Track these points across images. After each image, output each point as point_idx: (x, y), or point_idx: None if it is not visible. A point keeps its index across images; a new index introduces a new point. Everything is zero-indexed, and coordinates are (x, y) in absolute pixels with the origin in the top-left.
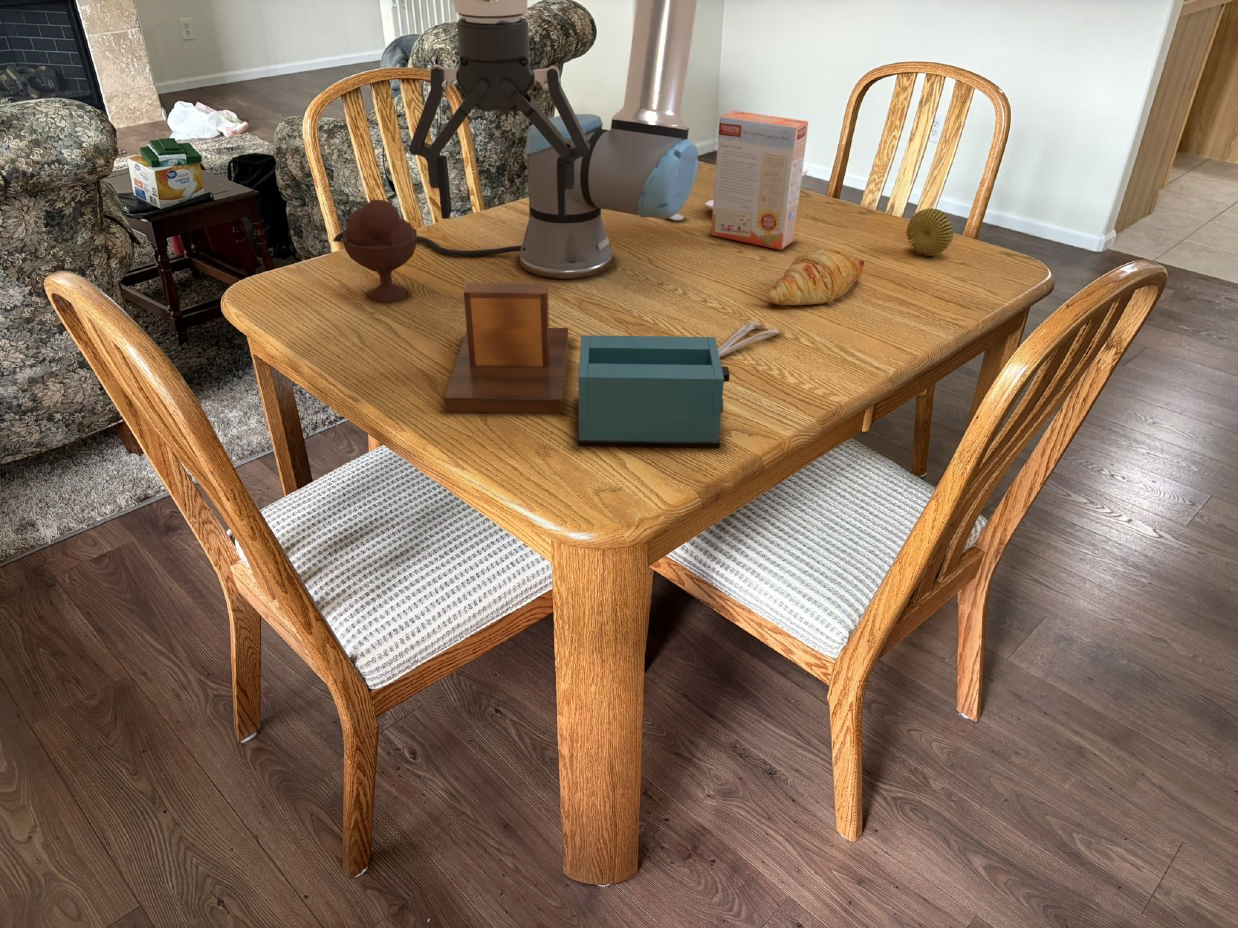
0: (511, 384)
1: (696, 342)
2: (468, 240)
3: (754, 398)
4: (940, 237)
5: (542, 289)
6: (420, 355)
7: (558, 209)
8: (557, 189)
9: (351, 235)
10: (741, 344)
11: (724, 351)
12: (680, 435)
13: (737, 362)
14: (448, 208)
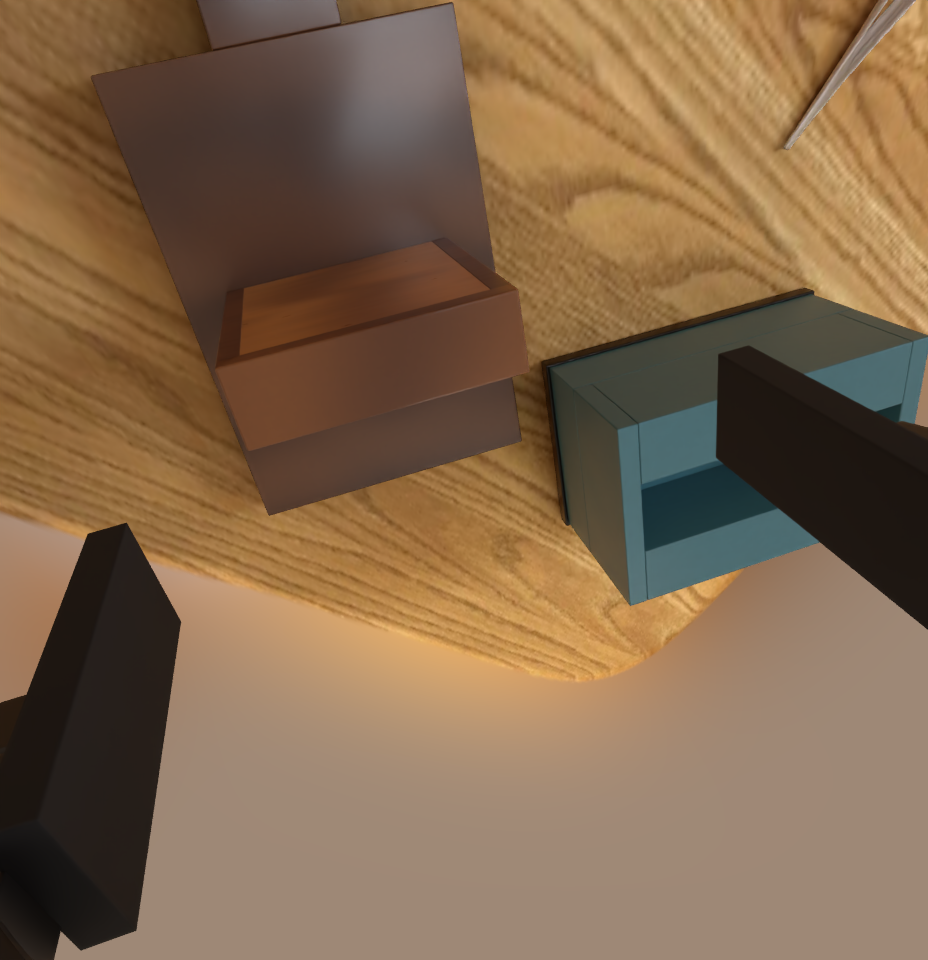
0: (397, 416)
1: (882, 380)
2: None
3: (890, 244)
4: None
5: (511, 345)
6: (12, 241)
7: (749, 481)
8: (817, 538)
9: None
10: None
11: (889, 28)
12: None
13: (900, 52)
14: (162, 630)
